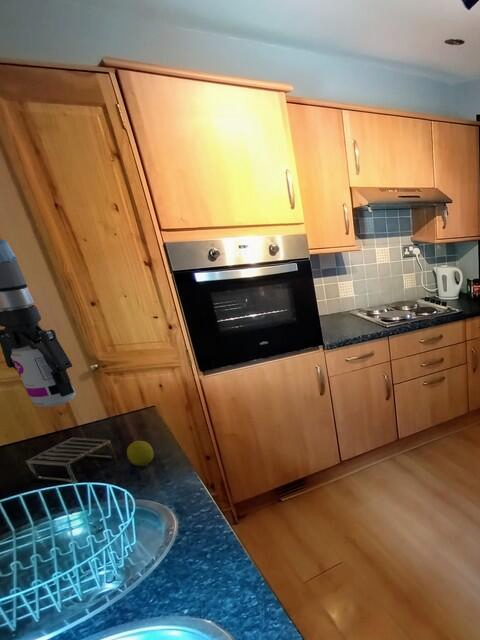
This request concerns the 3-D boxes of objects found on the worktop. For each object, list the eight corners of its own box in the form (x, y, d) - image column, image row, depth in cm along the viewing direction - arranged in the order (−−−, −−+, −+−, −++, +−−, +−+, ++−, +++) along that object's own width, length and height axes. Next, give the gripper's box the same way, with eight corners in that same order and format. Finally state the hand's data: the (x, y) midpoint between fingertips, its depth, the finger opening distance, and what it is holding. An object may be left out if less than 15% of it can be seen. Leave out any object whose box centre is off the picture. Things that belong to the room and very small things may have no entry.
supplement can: (32, 411, 112) (5, 354, 106) (36, 400, 118) (10, 345, 112) (76, 402, 117) (52, 347, 111) (77, 391, 123) (55, 339, 117)
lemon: (156, 457, 129) (147, 433, 126) (158, 466, 125) (148, 441, 122) (132, 464, 126) (122, 440, 123) (133, 473, 122) (123, 448, 119)
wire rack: (36, 483, 118) (24, 461, 115) (81, 458, 129) (72, 437, 126) (77, 487, 117) (66, 464, 114) (119, 461, 127) (110, 440, 125)
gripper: (68, 304, 110) (102, 389, 119) (-7, 302, 112) (32, 385, 121) (35, 312, 103) (74, 401, 112) (-45, 309, 105) (0, 397, 114)
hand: (52, 393), depth 116 cm, fingers closed on supplement can, 8 cm apart
